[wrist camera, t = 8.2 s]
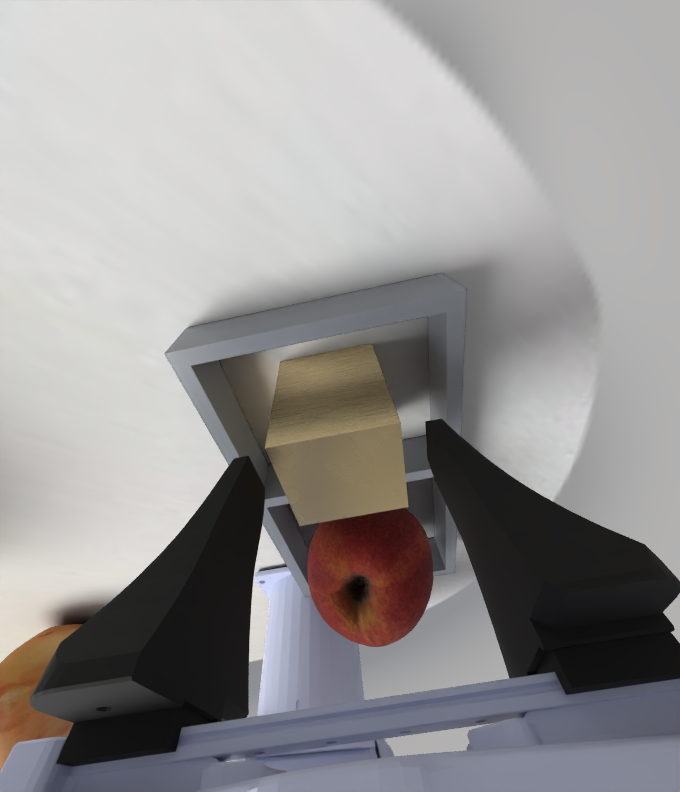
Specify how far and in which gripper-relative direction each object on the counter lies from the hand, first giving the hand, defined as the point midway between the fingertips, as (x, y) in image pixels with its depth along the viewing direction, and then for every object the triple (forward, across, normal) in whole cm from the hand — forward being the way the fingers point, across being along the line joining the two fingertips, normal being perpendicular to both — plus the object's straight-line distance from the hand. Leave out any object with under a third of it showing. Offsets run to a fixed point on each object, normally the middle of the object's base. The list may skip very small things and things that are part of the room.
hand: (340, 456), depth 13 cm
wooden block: (+5, 0, 0) cm, 5 cm away
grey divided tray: (+4, 0, +6) cm, 7 cm away
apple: (+5, 0, +10) cm, 11 cm away
